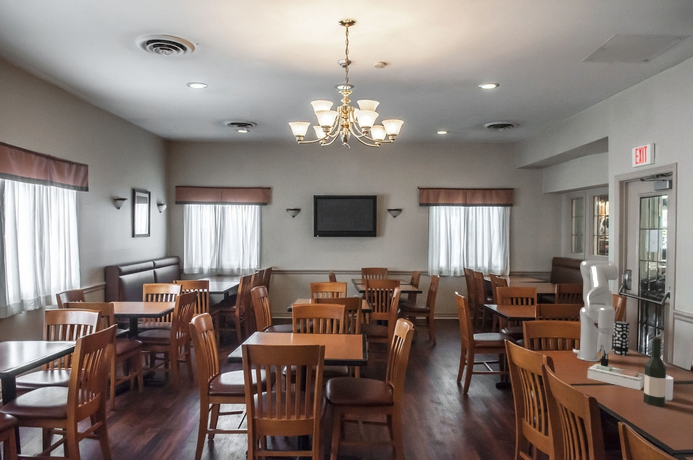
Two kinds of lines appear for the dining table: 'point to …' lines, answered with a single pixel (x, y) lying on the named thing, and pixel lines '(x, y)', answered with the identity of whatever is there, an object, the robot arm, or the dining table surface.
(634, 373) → the terracotta key
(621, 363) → the dining table surface
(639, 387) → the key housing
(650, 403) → the wine bottle
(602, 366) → the sage key
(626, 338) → the spotted tube
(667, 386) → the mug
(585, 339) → the robot arm
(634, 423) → the dining table surface
